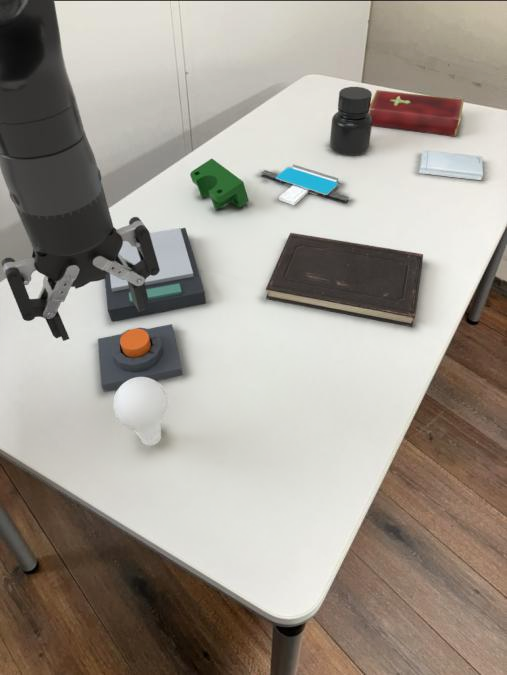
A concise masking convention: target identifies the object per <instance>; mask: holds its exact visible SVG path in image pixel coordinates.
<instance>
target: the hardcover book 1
mask: <svg viewBox="0 0 507 675" xmlns="http://www.w3.org/2000/svg"><path fill="white" fill-rule="evenodd" d="M423 261H424V253H418V252H412V251H407V250H400V249H394V248H388V247H383V246H381V247H380V246H375V245H370V244H369V245H368V244H363V243H357V242H352V241H351V242H350V241H344V240H339V239H338V240H337V239H333V238H327V237H321V236H320V237H319V236H313V235H306V234H302V233H295V232H290V233H289V235H288V237H287V239H286V242H285V244H284V246H283V249H282V251H281V253H280V255H279V257H278V260H277V262H276V265H275V267H274V269H273V271H272V273H271V276H270V279H269V281H268V283H267V285H266V288H265V291H268V292H267V294H266V296H265V299H266V300H271V301H275V302H276V301H277V302H281V303H286V304H292V305H296V306H302V307H307V308H313V309H318V310H322V311H323V310H324V311H328V312H334V313H338V314H344V315H347V316H348V315H349V316H353V317H358V318H364V319H369V320H375V321H380V322H386V323H390V324H396V325H401V326H406V327H409V328H413V326H414V324H413V323H414V319H415V318H416V312H417V304H418V298H419V290H420V282H421V274H422V267H423Z"/></svg>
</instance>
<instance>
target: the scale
mask: <svg viewBox="0 0 507 675" xmlns="http://www.w3.org/2000/svg"><path fill="white" fill-rule="evenodd" d="M149 233H150V237H151V240H152V244H153V247H154V251H155V255H156V258H157V262H158V265H159V269H160V271H159V273H158V274H157V275H154V276H152V275H150V276H148V277H147V278H146V280H145V287H146V291H147V296H148V304H145V305H144V306H145V310H143V311H140V312H139V311H138V309H137V308H136V306H135V304H134V302H133V300H132V296H131V293H130V289H129V285H128V282H127V280H121V279H119V278H118V277H116V276H114V275H112V274H110V273H108V274H107V275H106V276H105V277H106V278H105V279H104V286H105V296H106V305H107V312H108V315H109V319H110V321H111V322H116V321H122V320H126V319H127V320H128V319H132V318H137V317H141V316H147V315H152V314H157V313H163V312H167V311H168V312H169V311H172V310H178V309H182V308H183V309H184V308H188V307H194V306H199V305H203V304H207V300H206V292H205V289H204V285H203V282H202V278H201V275H200V272H199V268H198V265H197V262H196V259H195V255H194V251H193V249H192V244H191V241H190V239H189V235H188V232H187V229H186V227H182V228H181V227H177V228H171V229H165V230H160V231H154V232H149ZM119 254H120V255H121V256H122V257H123V258H124V259H126V260H128V261H129V262H131V263H133V264H136V263H138V262H139V261H141V260H140V257H139V254H138V250H137V247H133V246H131V244H130V243H129V242H128V241H123V245H122V247H121V250H120V252H119Z"/></svg>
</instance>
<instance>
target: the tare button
mask: <svg viewBox="0 0 507 675" xmlns="http://www.w3.org/2000/svg"><path fill="white" fill-rule="evenodd" d="M130 329H131V330H130ZM130 329H128V330H129V331H127V330H126V331H127V332H125V331H124V332H125V333H124V332H123V333H124V334H123V335H122V336H121V339H120V344H121V347H122V350H123V353H124V354H125V355H126V356H128V357H131V358H137V357H141V356H144V355H145V354H147V353H148V352H149V350H150V348H151V342H150V338H149V335H148V333H147V332H146V331H145V330H142V329H135V328H130Z"/></svg>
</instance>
